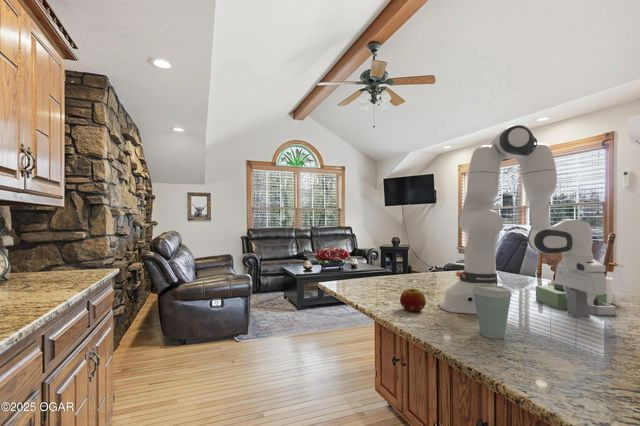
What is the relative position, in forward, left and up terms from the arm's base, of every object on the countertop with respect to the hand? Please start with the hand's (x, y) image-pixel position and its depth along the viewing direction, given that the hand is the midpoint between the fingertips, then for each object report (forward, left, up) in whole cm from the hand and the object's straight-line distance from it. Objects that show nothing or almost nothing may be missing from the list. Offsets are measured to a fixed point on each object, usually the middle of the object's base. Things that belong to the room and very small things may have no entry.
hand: (579, 301), depth 117 cm
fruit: (-58, +4, -5) cm, 59 cm away
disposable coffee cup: (-40, -22, -5) cm, 46 cm away
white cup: (+23, +20, -5) cm, 30 cm away
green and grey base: (+7, +11, -5) cm, 14 cm away
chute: (0, 0, -5) cm, 5 cm away
